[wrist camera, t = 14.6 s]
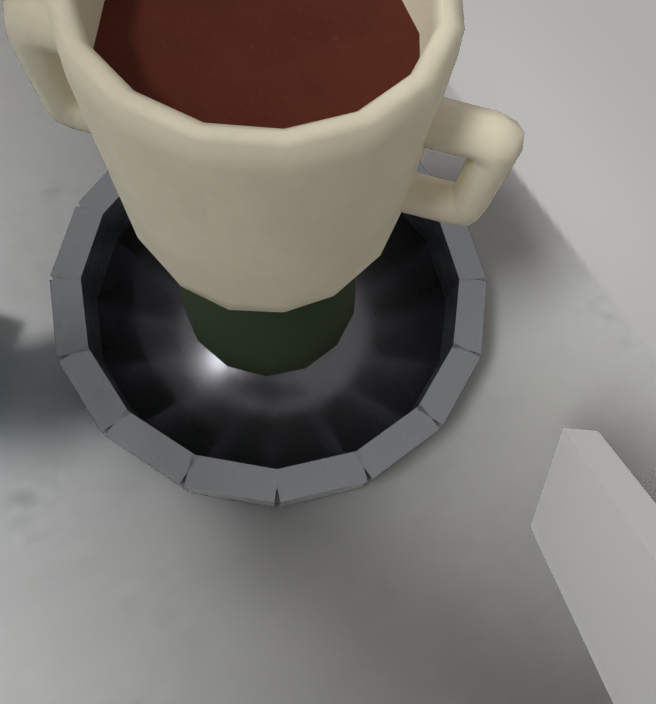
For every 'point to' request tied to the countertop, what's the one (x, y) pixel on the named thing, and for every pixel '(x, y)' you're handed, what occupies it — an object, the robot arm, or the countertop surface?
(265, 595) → the countertop surface
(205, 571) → the countertop surface
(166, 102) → the character mug
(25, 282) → the countertop surface
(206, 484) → the grey round tray
